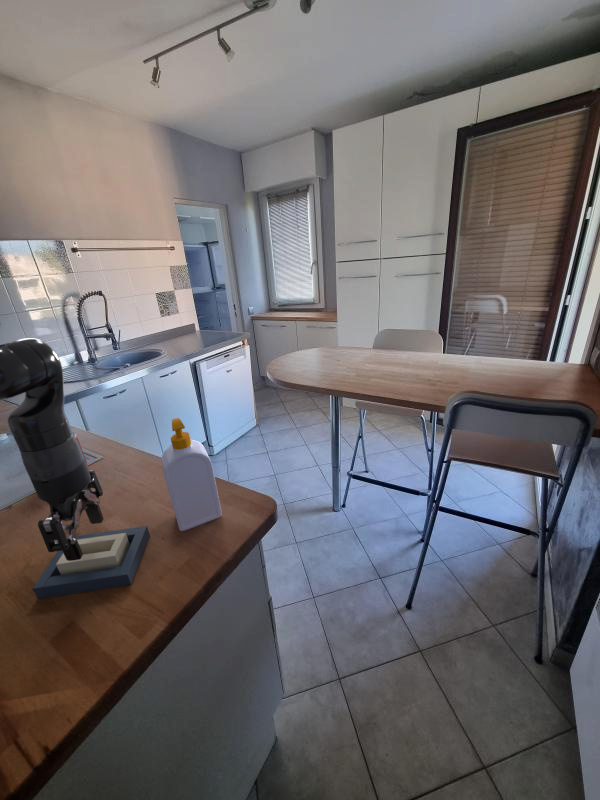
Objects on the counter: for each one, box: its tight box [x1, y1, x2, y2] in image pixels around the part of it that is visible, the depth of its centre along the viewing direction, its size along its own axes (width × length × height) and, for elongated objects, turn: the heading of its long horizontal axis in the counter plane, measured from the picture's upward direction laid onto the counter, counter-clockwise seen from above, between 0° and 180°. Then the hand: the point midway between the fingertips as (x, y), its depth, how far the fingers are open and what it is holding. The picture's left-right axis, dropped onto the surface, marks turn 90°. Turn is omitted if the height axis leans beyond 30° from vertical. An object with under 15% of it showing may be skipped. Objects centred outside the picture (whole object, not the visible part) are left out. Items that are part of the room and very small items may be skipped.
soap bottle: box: [161, 417, 223, 532], centre depth 69 cm, size 9×7×23 cm
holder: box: [32, 525, 151, 600], centre depth 62 cm, size 16×12×3 cm
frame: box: [56, 533, 130, 575], centre depth 62 cm, size 10×6×4 cm, turn 97°
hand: (87, 539), depth 60 cm, fingers open, 8 cm apart
